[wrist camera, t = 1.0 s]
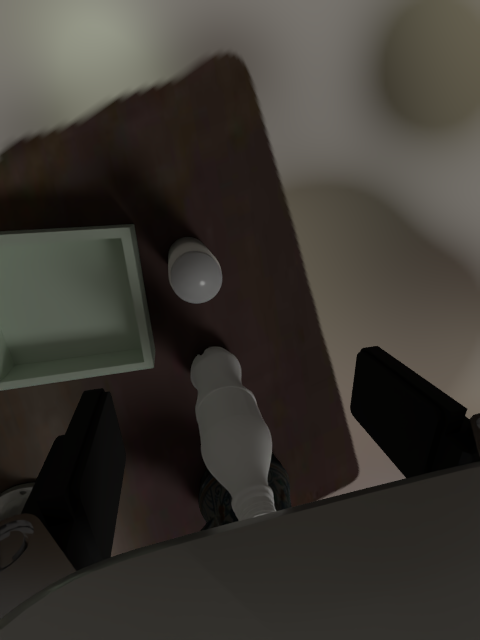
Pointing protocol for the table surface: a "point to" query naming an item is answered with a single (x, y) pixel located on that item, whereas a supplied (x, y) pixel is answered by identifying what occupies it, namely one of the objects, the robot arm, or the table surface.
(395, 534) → the robot arm
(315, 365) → the table surface
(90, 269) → the tray
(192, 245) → the shaker
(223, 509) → the beer stein
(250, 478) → the water bottle
